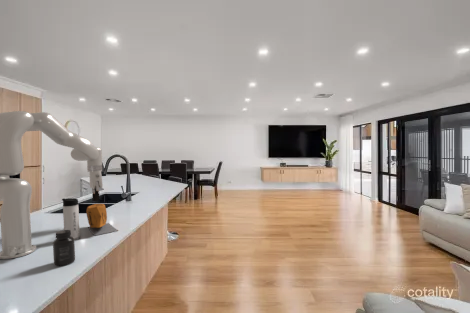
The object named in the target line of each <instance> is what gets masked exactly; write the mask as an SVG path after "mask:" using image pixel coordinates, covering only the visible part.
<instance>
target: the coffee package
mask: <svg viewBox="0 0 470 313" xmlns="http://www.w3.org/2000/svg"><path fill="white" fill-rule="evenodd" d="M107 212H108V211H107V208H106V205H105V204H104V203H94V204H92V205H88V206H87V207H86V217H87V222H88V224H89V227H90V228H96V227H97V228H100V227H102V226H104V225H105V224H106V223H107V220H108V214H107Z"/></svg>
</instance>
